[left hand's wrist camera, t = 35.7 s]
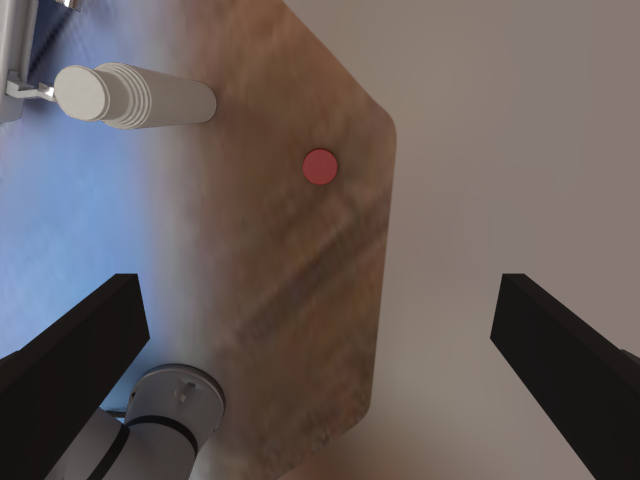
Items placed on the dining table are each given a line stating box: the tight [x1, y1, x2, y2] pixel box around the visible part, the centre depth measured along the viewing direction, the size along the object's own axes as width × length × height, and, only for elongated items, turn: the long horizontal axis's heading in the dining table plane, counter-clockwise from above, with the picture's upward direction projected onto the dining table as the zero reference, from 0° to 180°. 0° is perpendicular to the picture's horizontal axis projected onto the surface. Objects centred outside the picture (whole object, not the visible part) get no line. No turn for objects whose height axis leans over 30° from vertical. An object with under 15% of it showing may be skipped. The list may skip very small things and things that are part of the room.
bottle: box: [54, 62, 217, 130], centre depth 33 cm, size 5×5×23 cm
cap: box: [303, 148, 337, 185], centre depth 45 cm, size 4×4×2 cm
